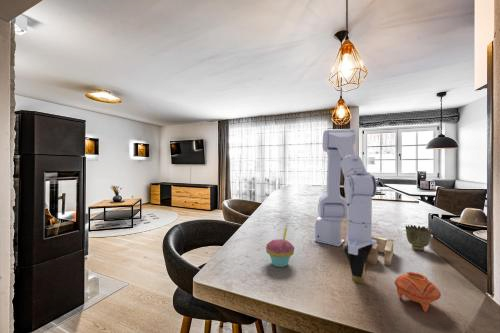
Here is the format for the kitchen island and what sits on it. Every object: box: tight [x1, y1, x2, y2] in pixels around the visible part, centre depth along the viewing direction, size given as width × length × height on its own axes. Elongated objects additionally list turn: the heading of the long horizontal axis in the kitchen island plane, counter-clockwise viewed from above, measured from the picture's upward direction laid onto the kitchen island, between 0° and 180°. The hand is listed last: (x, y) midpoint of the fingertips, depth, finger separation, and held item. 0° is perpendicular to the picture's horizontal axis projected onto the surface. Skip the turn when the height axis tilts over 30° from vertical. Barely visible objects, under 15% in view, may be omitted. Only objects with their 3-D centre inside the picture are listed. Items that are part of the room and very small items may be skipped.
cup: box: [405, 224, 433, 252], centre depth 77 cm, size 8×7×8 cm
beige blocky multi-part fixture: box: [346, 235, 394, 267], centre depth 73 cm, size 12×12×4 cm
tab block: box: [351, 244, 379, 285], centre depth 63 cm, size 5×19×6 cm, turn 143°
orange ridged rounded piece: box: [394, 271, 441, 313], centre depth 47 cm, size 8×8×7 cm
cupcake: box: [265, 224, 295, 268], centre depth 65 cm, size 9×8×12 cm
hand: (358, 272), depth 56 cm, fingers open, 3 cm apart
